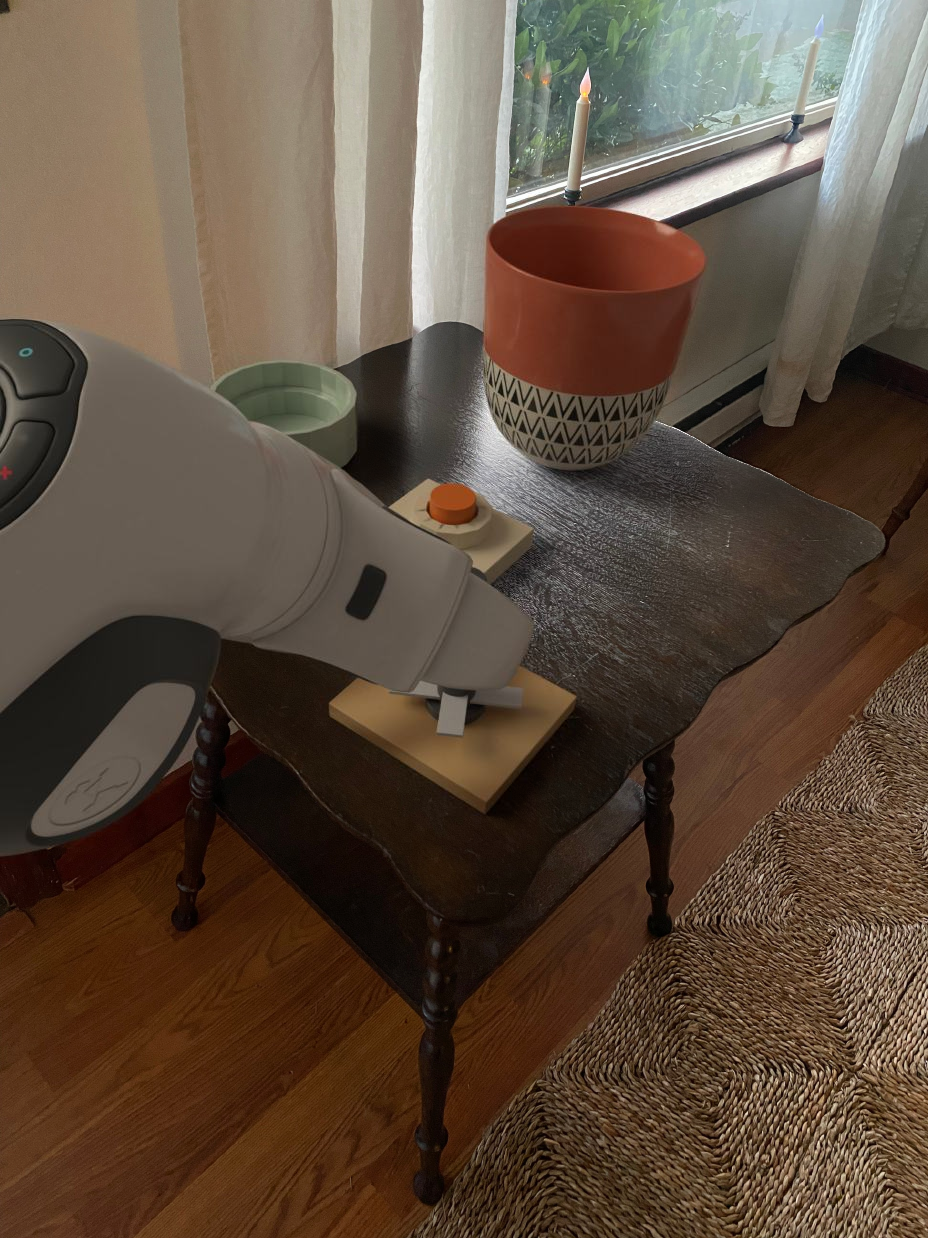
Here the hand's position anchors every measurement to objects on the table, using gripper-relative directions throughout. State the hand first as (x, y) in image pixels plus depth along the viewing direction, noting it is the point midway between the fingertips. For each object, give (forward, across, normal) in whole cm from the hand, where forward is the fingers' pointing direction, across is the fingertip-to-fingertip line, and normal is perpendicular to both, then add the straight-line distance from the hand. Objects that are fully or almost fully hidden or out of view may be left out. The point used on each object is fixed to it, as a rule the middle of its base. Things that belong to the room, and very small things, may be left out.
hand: (398, 592), depth 52 cm
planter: (+42, -10, +19) cm, 47 cm away
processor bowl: (+30, -32, +7) cm, 45 cm away
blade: (+15, +1, -6) cm, 16 cm away
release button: (+25, -11, +7) cm, 28 cm away
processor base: (+28, -11, +5) cm, 30 cm away
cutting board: (+16, +1, -7) cm, 18 cm away
